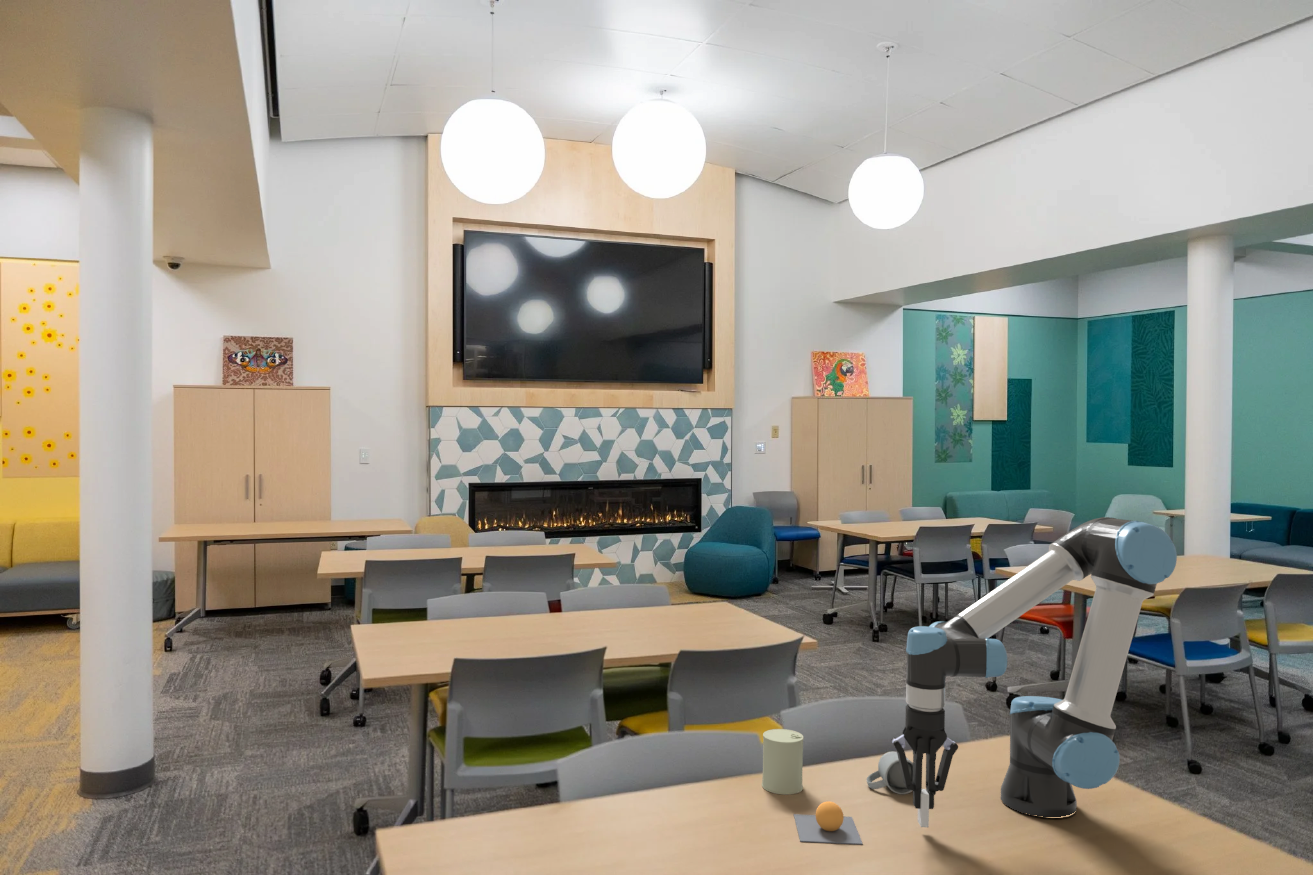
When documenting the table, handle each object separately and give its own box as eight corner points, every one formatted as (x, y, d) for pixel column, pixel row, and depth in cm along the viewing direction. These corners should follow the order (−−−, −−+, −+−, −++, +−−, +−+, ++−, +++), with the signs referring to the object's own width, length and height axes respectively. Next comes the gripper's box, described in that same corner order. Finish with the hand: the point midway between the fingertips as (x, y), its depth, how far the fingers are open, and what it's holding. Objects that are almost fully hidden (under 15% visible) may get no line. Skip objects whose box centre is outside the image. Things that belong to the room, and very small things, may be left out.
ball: (843, 799, 174) (816, 794, 174) (848, 811, 169) (820, 805, 169) (838, 826, 174) (811, 820, 174) (842, 838, 169) (815, 833, 169)
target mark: (851, 817, 178) (851, 816, 178) (862, 844, 166) (862, 843, 166) (793, 815, 178) (793, 814, 178) (800, 841, 166) (800, 840, 166)
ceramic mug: (906, 780, 199) (906, 746, 199) (919, 794, 190) (919, 759, 190) (861, 780, 198) (861, 747, 198) (872, 795, 190) (872, 760, 190)
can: (802, 796, 188) (803, 741, 188) (760, 792, 190) (761, 738, 190) (803, 780, 197) (804, 728, 197) (763, 776, 199) (764, 725, 199)
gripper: (952, 701, 174) (950, 817, 174) (888, 699, 175) (885, 814, 175) (964, 713, 167) (961, 834, 167) (896, 710, 168) (894, 831, 167)
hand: (923, 824), depth 171 cm, fingers closed
